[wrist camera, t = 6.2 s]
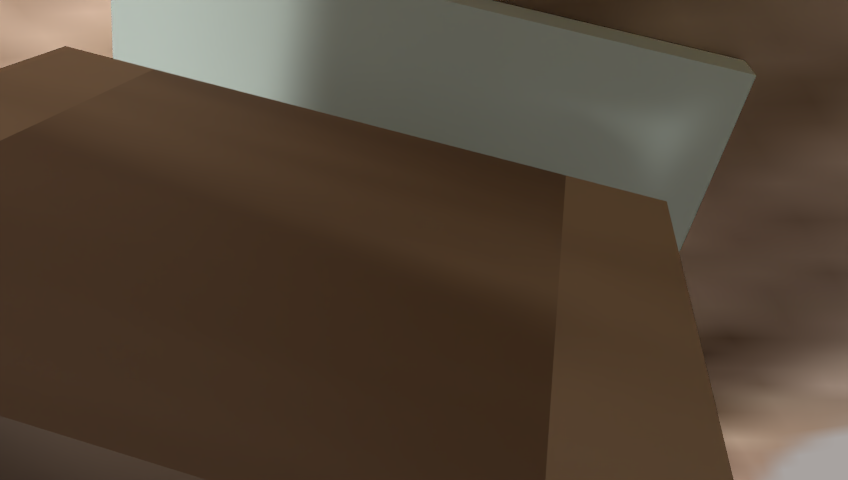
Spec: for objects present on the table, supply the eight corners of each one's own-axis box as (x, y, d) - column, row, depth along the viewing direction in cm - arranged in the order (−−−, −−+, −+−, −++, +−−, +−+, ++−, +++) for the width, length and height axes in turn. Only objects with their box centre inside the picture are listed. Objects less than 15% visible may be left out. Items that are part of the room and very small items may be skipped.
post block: (560, 496, 14) (549, 757, 10) (145, 372, 15) (-25, 568, 11) (744, 60, 10) (861, 205, 6) (139, -84, 10) (-155, -51, 6)
